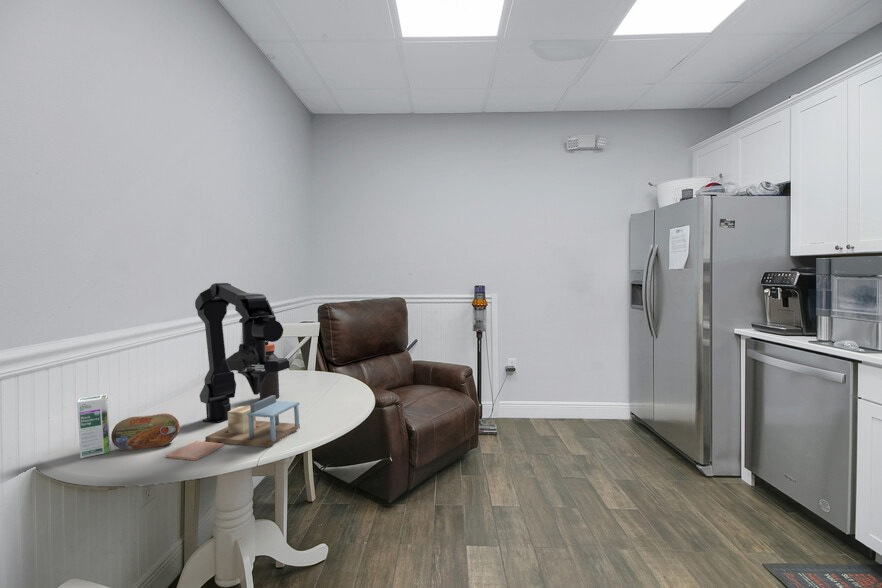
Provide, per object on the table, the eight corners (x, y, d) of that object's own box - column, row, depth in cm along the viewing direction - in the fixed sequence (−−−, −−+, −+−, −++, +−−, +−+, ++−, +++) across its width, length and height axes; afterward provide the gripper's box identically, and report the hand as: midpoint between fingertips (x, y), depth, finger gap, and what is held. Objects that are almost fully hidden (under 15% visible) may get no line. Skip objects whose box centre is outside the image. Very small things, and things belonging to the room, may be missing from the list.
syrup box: (79, 459, 102) (76, 401, 101) (82, 451, 107) (79, 396, 106) (109, 453, 105) (106, 397, 105) (110, 445, 110) (107, 392, 109)
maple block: (228, 436, 115) (227, 411, 115) (241, 429, 120) (240, 406, 119) (243, 437, 114) (242, 412, 113) (256, 431, 118) (255, 407, 118)
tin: (111, 452, 105) (109, 420, 105) (117, 448, 108) (115, 416, 108) (177, 444, 110) (176, 413, 109) (181, 440, 113) (180, 410, 112)
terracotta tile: (166, 457, 102) (166, 454, 102) (196, 443, 110) (196, 440, 110) (195, 460, 99) (195, 458, 99) (223, 445, 108) (223, 443, 108)
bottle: (269, 394, 156) (267, 342, 155) (283, 396, 153) (281, 343, 153) (255, 399, 150) (253, 345, 149) (269, 401, 147) (267, 346, 146)
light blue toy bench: (248, 438, 109) (246, 406, 109) (276, 423, 120) (275, 394, 120) (273, 441, 107) (272, 407, 107) (300, 425, 118) (298, 395, 118)
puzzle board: (205, 441, 111) (205, 436, 111) (242, 423, 125) (242, 419, 125) (267, 447, 106) (267, 442, 106) (299, 428, 120) (299, 424, 120)
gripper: (203, 343, 109) (206, 401, 109) (262, 344, 104) (265, 405, 105) (234, 337, 120) (236, 389, 120) (289, 338, 115) (291, 393, 115)
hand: (256, 394), depth 115 cm, fingers closed
